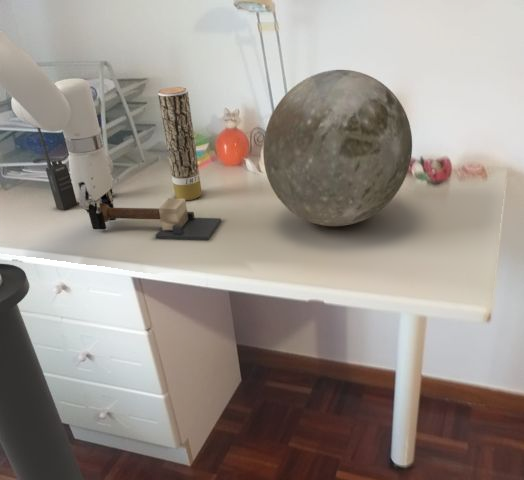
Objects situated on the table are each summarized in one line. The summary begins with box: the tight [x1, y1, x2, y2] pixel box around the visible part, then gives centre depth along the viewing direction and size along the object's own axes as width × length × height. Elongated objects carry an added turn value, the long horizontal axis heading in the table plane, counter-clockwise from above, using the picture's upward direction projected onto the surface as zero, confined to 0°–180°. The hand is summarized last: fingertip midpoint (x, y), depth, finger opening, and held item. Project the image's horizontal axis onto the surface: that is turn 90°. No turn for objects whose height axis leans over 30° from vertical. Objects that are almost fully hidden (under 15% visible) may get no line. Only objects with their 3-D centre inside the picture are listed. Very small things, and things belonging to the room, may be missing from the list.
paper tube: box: [157, 86, 203, 201], centre depth 137 cm, size 7×7×25 cm
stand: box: [155, 211, 222, 241], centre depth 126 cm, size 12×10×2 cm
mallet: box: [99, 197, 188, 230], centre depth 127 cm, size 22×6×5 cm, turn 77°
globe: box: [262, 69, 413, 227], centre depth 116 cm, size 30×30×30 cm
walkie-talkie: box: [36, 127, 78, 211], centre depth 139 cm, size 5×3×20 cm
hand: (104, 223), depth 131 cm, fingers closed on mallet, 4 cm apart
